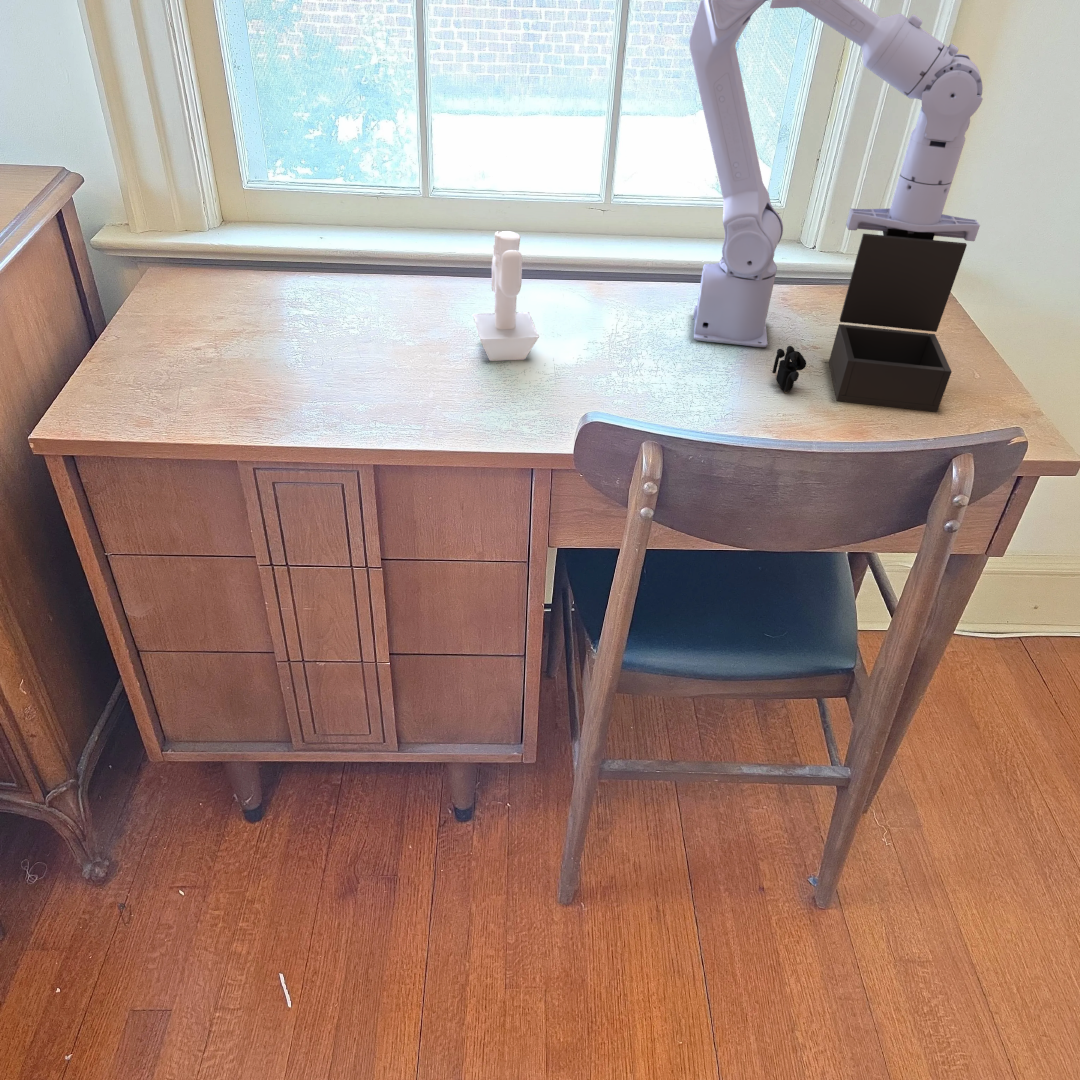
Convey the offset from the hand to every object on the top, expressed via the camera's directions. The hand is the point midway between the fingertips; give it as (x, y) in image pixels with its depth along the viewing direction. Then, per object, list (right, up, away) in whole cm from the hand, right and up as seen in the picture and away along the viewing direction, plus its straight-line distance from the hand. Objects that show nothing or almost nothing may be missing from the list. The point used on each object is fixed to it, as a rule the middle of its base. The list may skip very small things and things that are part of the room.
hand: (891, 291), depth 110 cm
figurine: (-48, -7, +2) cm, 48 cm away
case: (-2, -12, -1) cm, 12 cm away
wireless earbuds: (-13, -12, -2) cm, 18 cm away
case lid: (0, 0, -4) cm, 4 cm away
